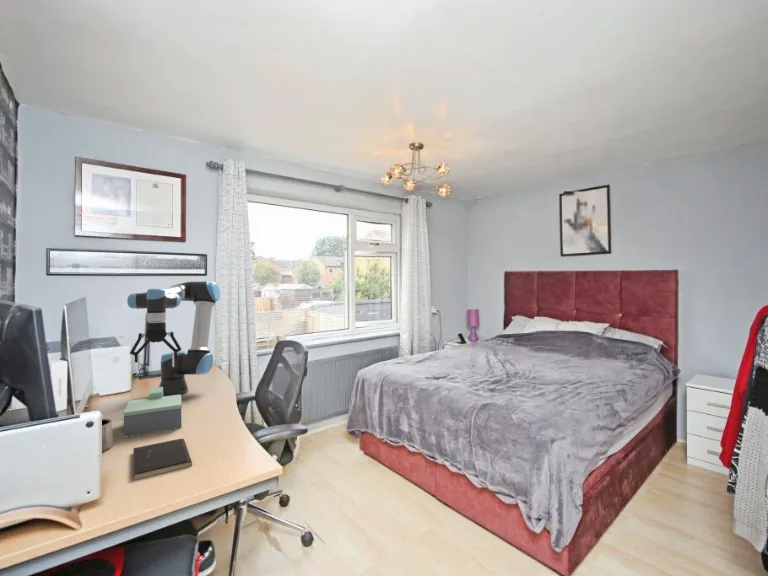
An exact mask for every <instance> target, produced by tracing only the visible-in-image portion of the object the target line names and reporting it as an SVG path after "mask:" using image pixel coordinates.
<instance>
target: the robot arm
mask: <svg viewBox="0 0 768 576" xmlns="http://www.w3.org/2000/svg"><path fill="white" fill-rule="evenodd" d="M220 298H221V291H220V287H219V285H218V283H217V282H215V281H209V280H207V281H186V282H181V283H178V284H173V285H171V286H170V287H167V288H148V289H147V291H144V292H141V293H140V292H139V293H138V292H136V293H135V292H134V293H130V294H129V295H128V297H127V300H126V301H127V302H126V303H127V306H128V308H130V309H136V310H139V309H143V310H144V309H146V322H147V323H146V332H145V333H143V332H142V333H141V332H140V333H138V336H137V337H138V338H137V340H135V343H134V345H133V347H132V348H131V350H130V352H129V355H133V356H134V363H135V364H136V363H137V371H140V370H141V354H140V353H141V352H142V350H143V351H144V348H146V346H147V345H148V344H149V343H161V342H163V343H164V344H165V345H166V346H167V347H168V348H170V350H171V351H172V352H167V353H165V354H162V355H161V357H160V375H161V376H160V384H159V386H158V387H163V397H164V396H172V395H180V394H182V395H185V394H187V393H188V392H189V386H188V384H187V381H186V377H185V376H186V375H187V376H188V375H189V376H190V375H197V376H200V375H206V374H208V373H209V372H210V371H211V370H212V368H213V364H214V354H213V353H211V350H210V349H209V338H210V331H211V329H210V328H211V320H212V312H213V311H212V310H213V307H215V306H216V302H218V301H219V300H220ZM182 301H184V302H193V305H195V313H194V321H193V328H192V329H193V330H192V336H191V345H190V347H189V348H188V349H187V352H185V351H184V350H182V348H181V346H180V344H179V342H178V341H177V338H176V337H175V333H174V331H172V330H171V331H169V332H167V330H166V329H167V325H166V324H167V323H166V320H167V319H166V318H167V317H166V315H167V314H166V313H167V311H166V310H167V309H175V308H177V307H179V306H180V304H181V302H182ZM167 336H168V337H170V338H171V340H172V342H173V343H174V345H175V347H174V345H172V344H171V343H170V341H168V340H167V339H166V337H167ZM144 337H146V338H147V340H146V341H145V342H144V343H143V344H142V345H141V347H139V348H138V349H137V347H138V346H139V344H140V342H141V340H142V339H144ZM136 349H137V351H136ZM184 393H185V394H184Z"/></svg>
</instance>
